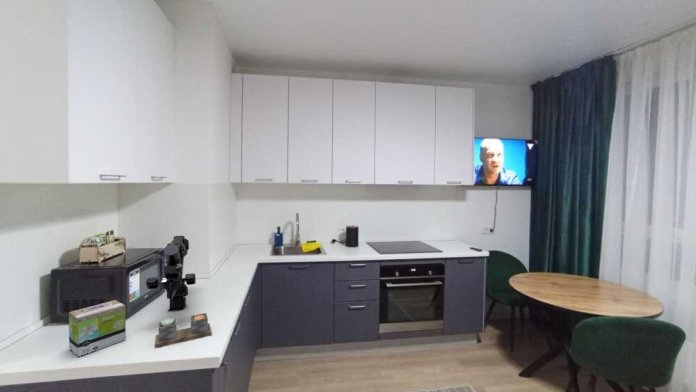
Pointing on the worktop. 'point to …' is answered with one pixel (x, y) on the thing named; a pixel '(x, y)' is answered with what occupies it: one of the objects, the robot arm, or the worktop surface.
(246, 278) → the worktop surface
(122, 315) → the tea box
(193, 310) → the worktop surface
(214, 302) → the worktop surface
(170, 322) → the sage button
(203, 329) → the button board
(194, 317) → the terracotta button
